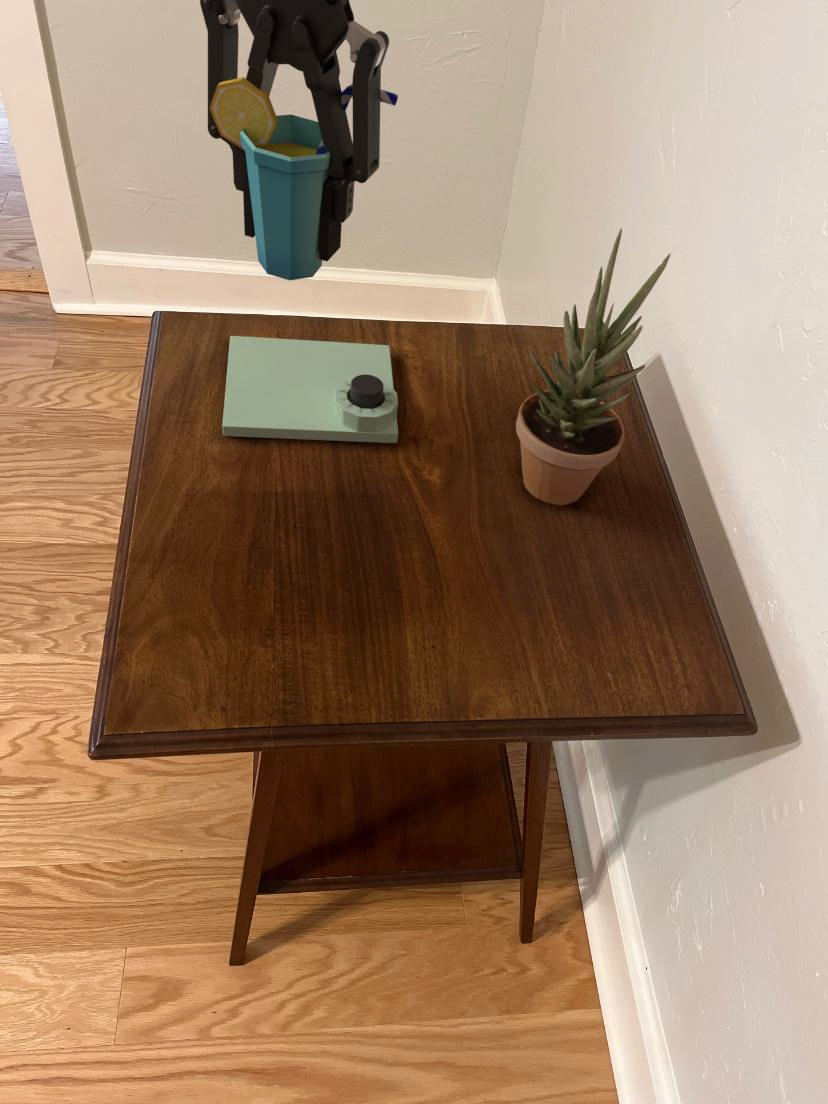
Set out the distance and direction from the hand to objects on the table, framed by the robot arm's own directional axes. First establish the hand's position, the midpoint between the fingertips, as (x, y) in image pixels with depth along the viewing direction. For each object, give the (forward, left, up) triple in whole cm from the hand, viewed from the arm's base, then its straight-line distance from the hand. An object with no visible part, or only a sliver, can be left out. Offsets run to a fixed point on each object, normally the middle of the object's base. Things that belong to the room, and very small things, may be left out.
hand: (292, 240), depth 77 cm
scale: (+2, +1, -16) cm, 16 cm away
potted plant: (+27, 0, -16) cm, 31 cm away
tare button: (+8, -1, -13) cm, 15 cm away
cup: (+1, 0, -2) cm, 2 cm away
